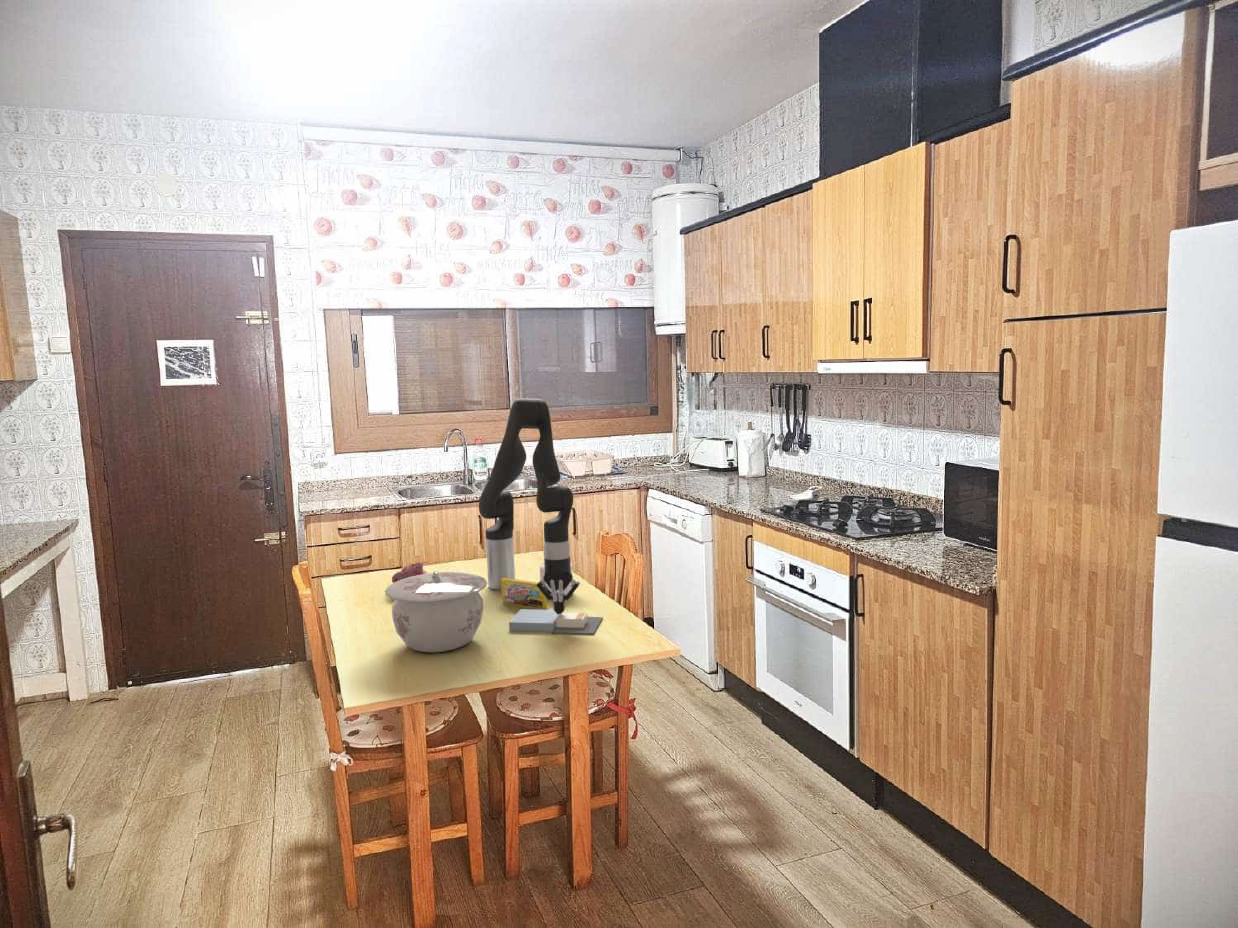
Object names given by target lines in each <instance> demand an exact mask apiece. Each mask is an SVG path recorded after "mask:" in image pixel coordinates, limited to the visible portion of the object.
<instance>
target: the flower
mask: <svg viewBox="0 0 1238 928" xmlns="http://www.w3.org/2000/svg"><path fill="white" fill-rule="evenodd" d="M423 569H424V562H420V561H419V562H417V563H412V564H409V565H408V566H404V567H403V568H402V569H400V571H397V572H396V573H394V574H393V575H392V577H391V581H392V584H393V583H395V582H397V581H399V580H402V579H405V578H409V577H412V576H416V575H422V574H428V573H427V571H425V570H423Z"/></svg>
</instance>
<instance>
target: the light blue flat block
mask: <svg viewBox="0 0 1238 928" xmlns="http://www.w3.org/2000/svg"><path fill="white" fill-rule="evenodd" d="M558 615H559V614H556V612H555V611H554V609H545V610H543V609H532V608H530V609H528V608H527V609H524V608H523V609H519V610H518V611H517V613H516V614H515V615H514V616H513V617H512V618H511V619H510V621H508V629H509V631H511V632H543V633H544V632H545V633H546V632H547V633H548V632H550V633H552V631H553V630H554V629H555V627H556V618H557V616H558Z"/></svg>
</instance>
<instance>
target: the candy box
mask: <svg viewBox="0 0 1238 928" xmlns="http://www.w3.org/2000/svg"><path fill="white" fill-rule="evenodd" d="M538 582H539V581H530V580H522V579H516V578H515V579H509V578H503V579H501V587H502V589H501V598H502V604H504V605H509V606H510V605H511V606H516V607H523V608H530V609H535V610H548V599H547V598H546V597H545V595H544V594H543V593H542V592H541V590H540V589H539V588H538V587H537V583H538Z"/></svg>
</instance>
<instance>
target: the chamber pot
mask: <svg viewBox="0 0 1238 928" xmlns="http://www.w3.org/2000/svg"><path fill="white" fill-rule="evenodd" d="M487 586H488V580H486V578H485V577H483V576H481V575H478V574H474V573H469V572H468V573H467V572H460V571H437V570H433V572H429V573H427V574H422V575H416V576H412V577H409V578H405V579H402V580H399V581H397V582H395V583H393V582H392V583H391V584H389V585H388V586H387V587H386V588H385V590H384V592H385V593H384V594H385V596H386V597H388V598H390V599H392V600H394V601H393V603H392V605H391V616H392V621H393V623H394V627H395V632H396V633H397V635H398V636H399V638H400V639H401V641H402V642H404V644H405V645H406V646H408V647H409V648H410V649H411V650H413V651H417V652H421V653H429V654H430V653H431V654H433V653H435V654H437V653H438V654H439V653H446V652H451V651H454V650H456V649H459V648H461V647H464V646H465V645H468V644H469V643H470V642H471V641H472V640H473V638H474V637H475V635H476V633H477V631H478V629H479V628H480V626H481V623H482V620H483V613H484V599H483V597H482V596H481V594H480V593H479V592H481V591H483V590H484V589H485V588H486V587H487Z"/></svg>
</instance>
